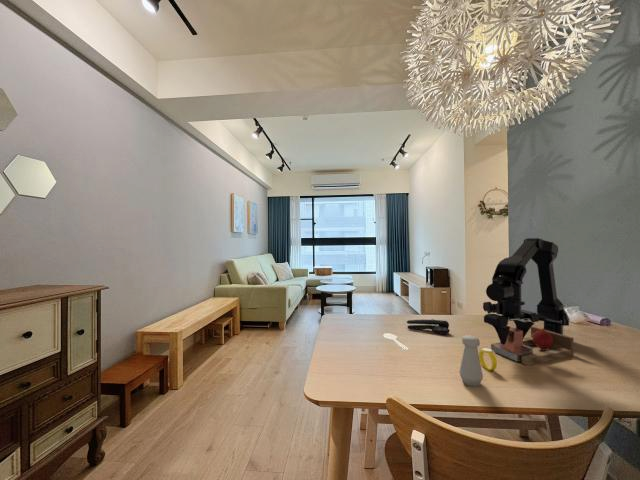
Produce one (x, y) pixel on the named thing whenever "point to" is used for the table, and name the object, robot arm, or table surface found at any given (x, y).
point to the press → (514, 346)
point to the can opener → (431, 325)
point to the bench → (559, 348)
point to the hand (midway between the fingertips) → (511, 342)
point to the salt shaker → (471, 362)
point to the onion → (542, 339)
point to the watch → (494, 362)
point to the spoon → (394, 337)
